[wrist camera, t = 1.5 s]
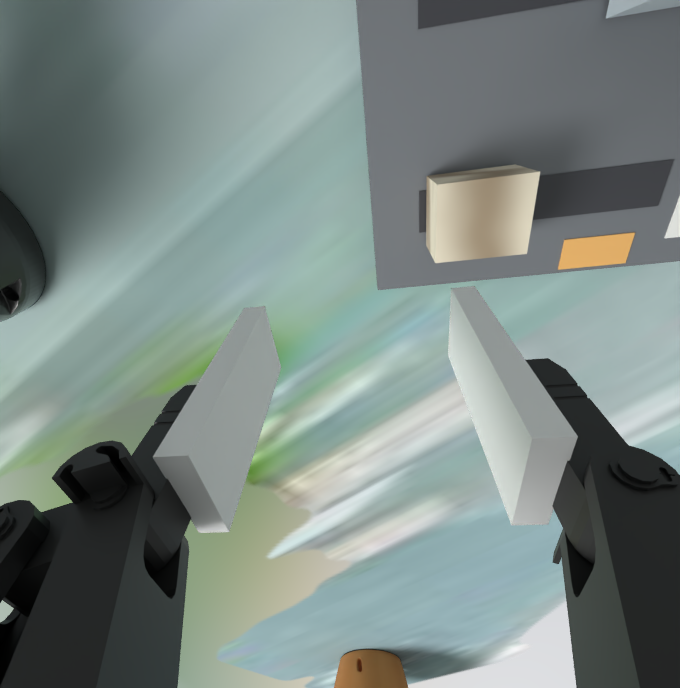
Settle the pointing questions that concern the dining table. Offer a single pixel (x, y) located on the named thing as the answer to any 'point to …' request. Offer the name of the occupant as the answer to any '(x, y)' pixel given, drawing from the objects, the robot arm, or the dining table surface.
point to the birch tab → (480, 212)
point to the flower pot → (370, 670)
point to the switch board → (524, 128)
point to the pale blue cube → (637, 6)
